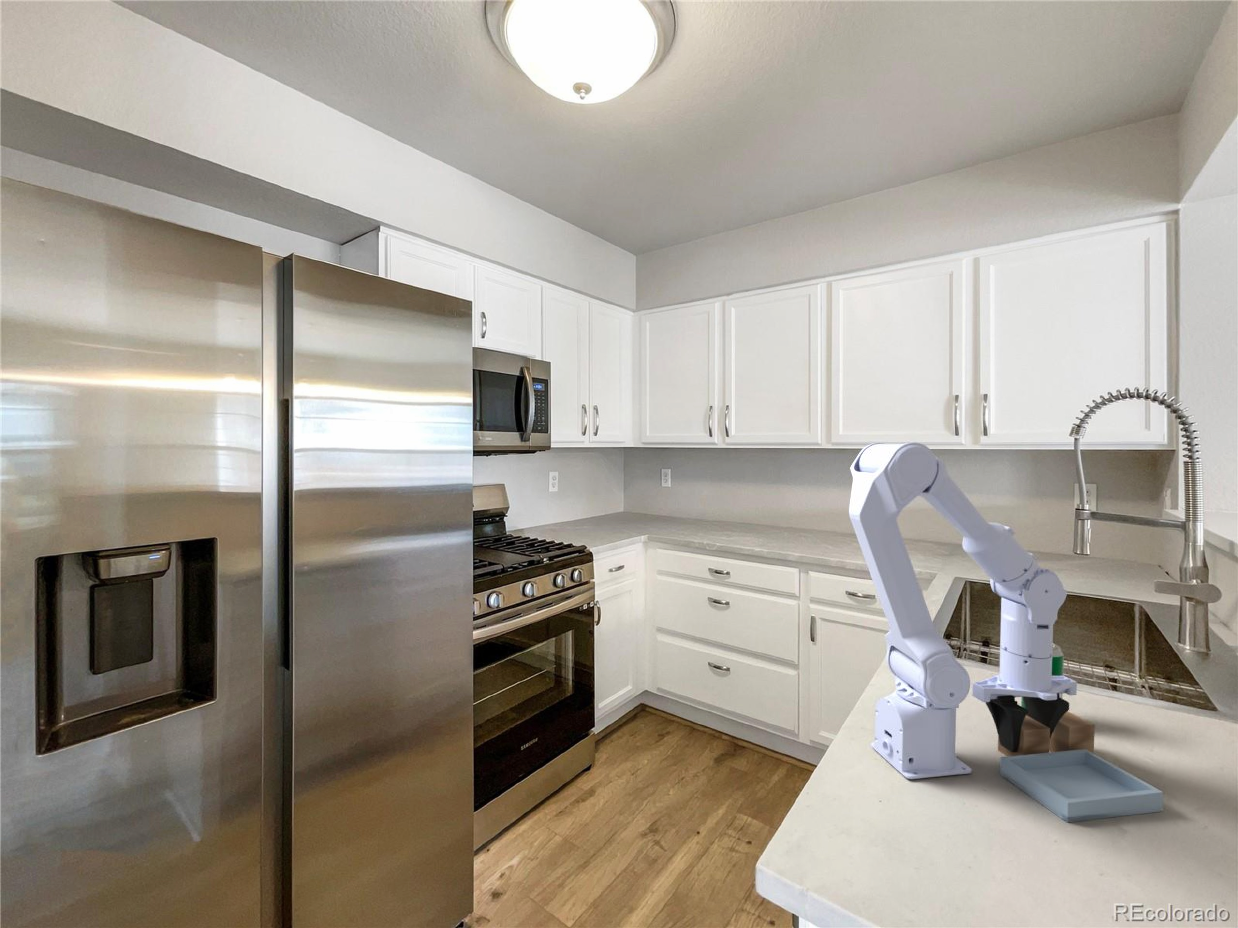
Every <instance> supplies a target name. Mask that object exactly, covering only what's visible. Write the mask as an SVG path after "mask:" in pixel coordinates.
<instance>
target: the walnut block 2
mask: <svg viewBox="0 0 1238 928" xmlns="http://www.w3.org/2000/svg"><path fill="white" fill-rule="evenodd" d="M1095 726H1096V725H1095V724H1094V723H1092V722H1091V721H1088V720H1086V719H1084V718H1082V717H1080V716H1078V715H1076V714H1074V713H1072V712H1069V710H1068V711H1067V712H1066V713H1065V714H1064V715H1063V716H1062V718H1061V719H1060V720H1059V722H1058V723H1057V725H1056V727H1055V729H1054V731H1053V733H1052V736H1051V738H1050V748H1049V753H1050V752H1061V751H1071V750H1081V749H1086V750H1088V751H1090V752H1092V753H1093V754H1095V728H1096V727H1095Z"/></svg>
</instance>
